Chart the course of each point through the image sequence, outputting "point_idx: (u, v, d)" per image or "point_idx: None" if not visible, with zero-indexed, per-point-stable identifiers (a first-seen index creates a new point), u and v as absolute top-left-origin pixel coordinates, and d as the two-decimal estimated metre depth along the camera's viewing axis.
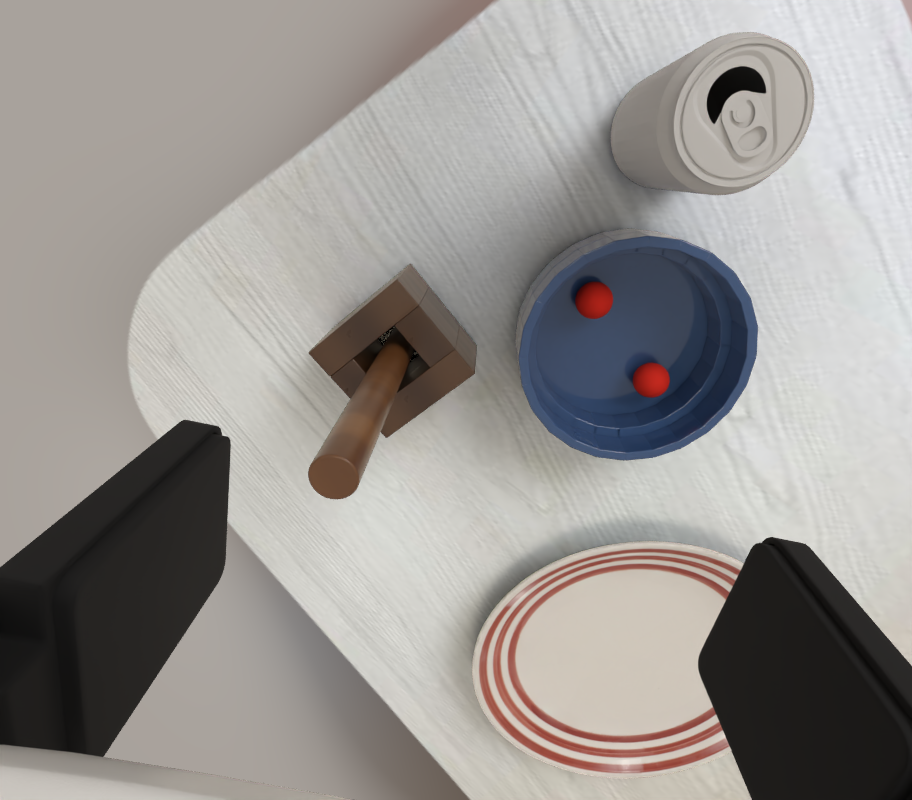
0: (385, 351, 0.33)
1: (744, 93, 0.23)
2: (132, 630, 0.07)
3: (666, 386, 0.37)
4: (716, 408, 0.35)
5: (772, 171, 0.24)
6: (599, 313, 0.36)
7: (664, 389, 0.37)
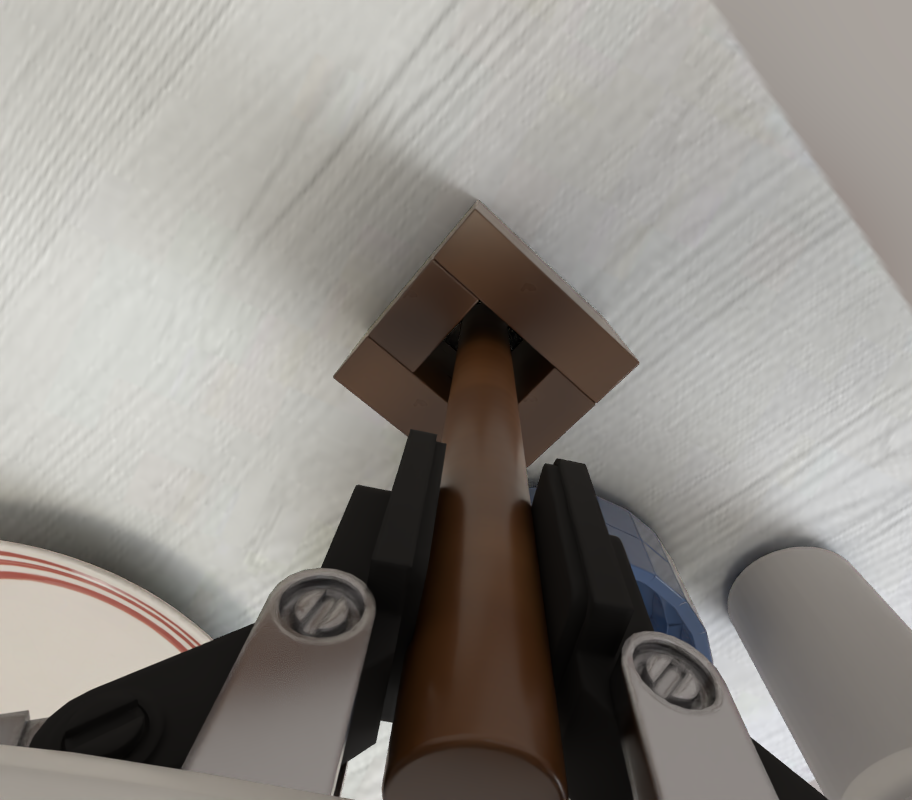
0: (512, 367, 0.18)
1: None
2: None
3: None
4: None
5: None
6: None
7: None
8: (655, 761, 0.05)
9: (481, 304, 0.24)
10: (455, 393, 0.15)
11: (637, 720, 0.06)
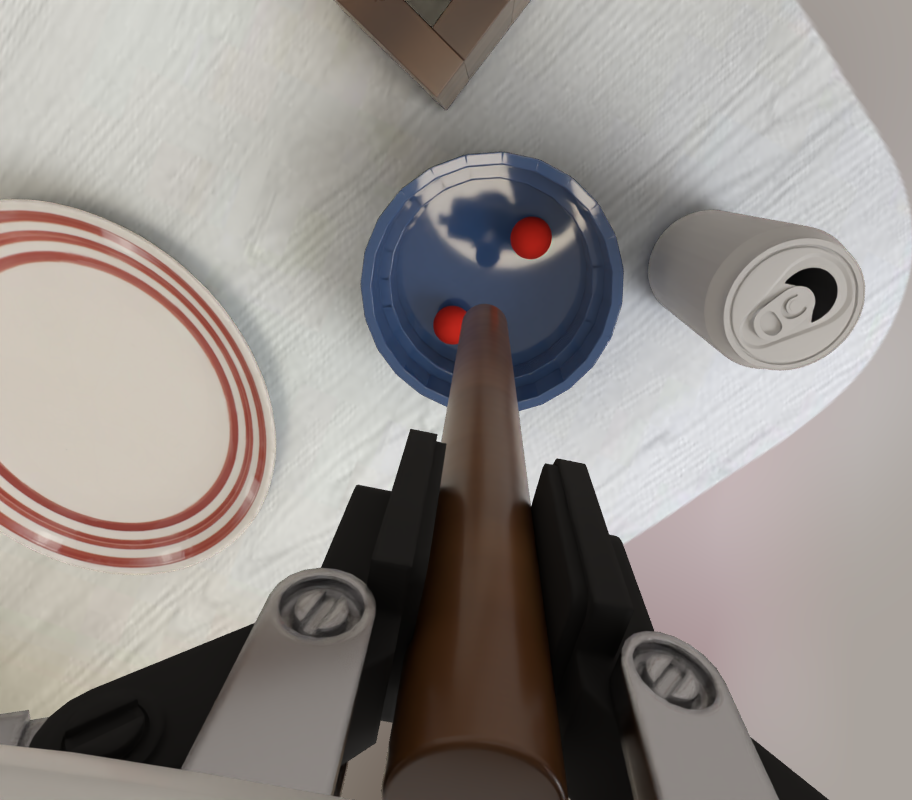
0: (511, 367, 0.18)
1: (812, 302, 0.23)
2: None
3: (452, 341, 0.34)
4: (447, 395, 0.33)
5: (738, 352, 0.24)
6: (521, 246, 0.32)
7: (448, 340, 0.34)
8: (655, 761, 0.05)
9: (481, 304, 0.24)
10: (455, 394, 0.15)
11: (637, 720, 0.06)
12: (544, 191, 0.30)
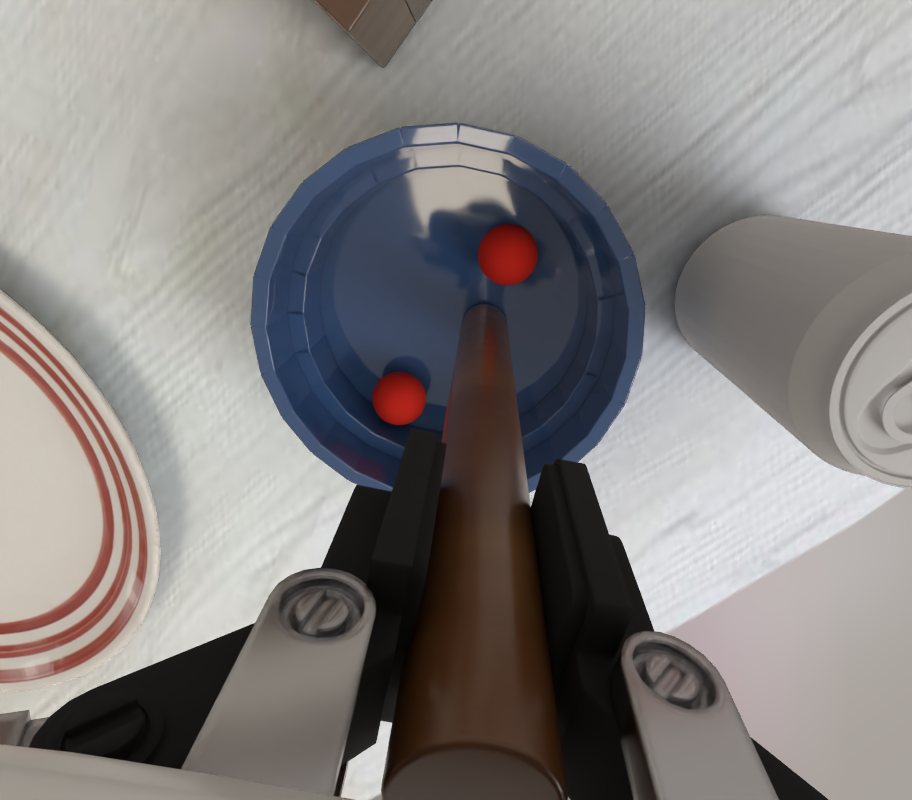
0: (511, 367, 0.18)
1: None
2: None
3: None
4: (387, 480, 0.23)
5: (850, 459, 0.14)
6: (492, 267, 0.22)
7: None
8: (655, 761, 0.05)
9: (481, 305, 0.24)
10: (455, 394, 0.15)
11: (637, 720, 0.06)
12: (526, 186, 0.20)
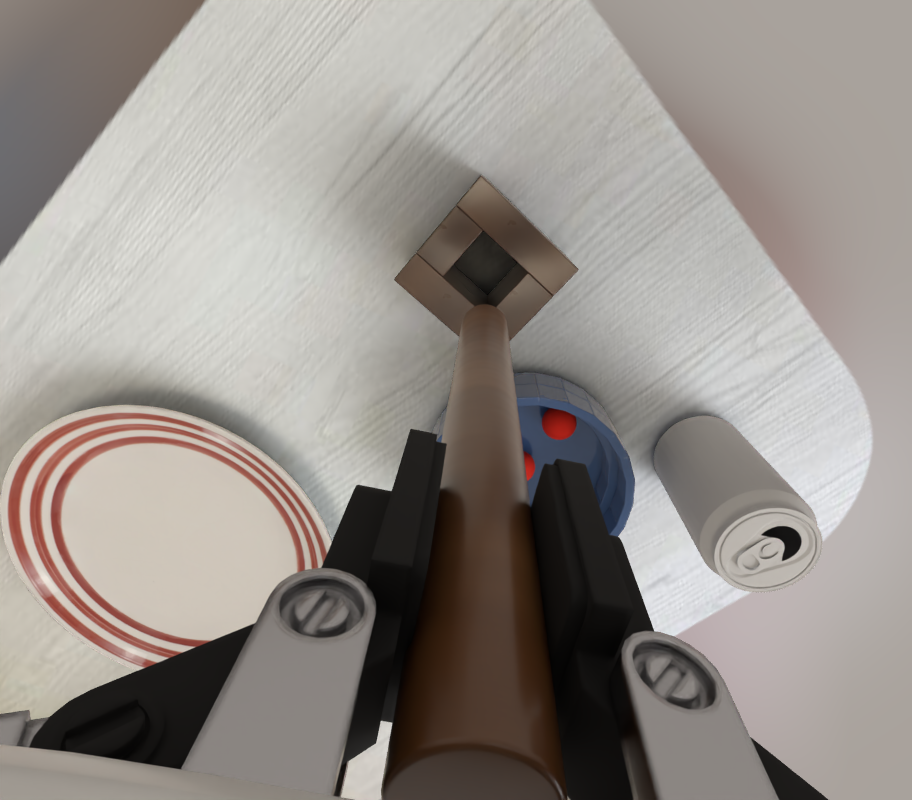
0: (511, 368, 0.18)
1: (782, 548, 0.30)
2: None
3: (530, 455, 0.40)
4: None
5: (725, 579, 0.31)
6: (552, 419, 0.38)
7: None
8: (655, 761, 0.05)
9: (481, 305, 0.24)
10: (455, 394, 0.15)
11: (637, 720, 0.06)
12: None
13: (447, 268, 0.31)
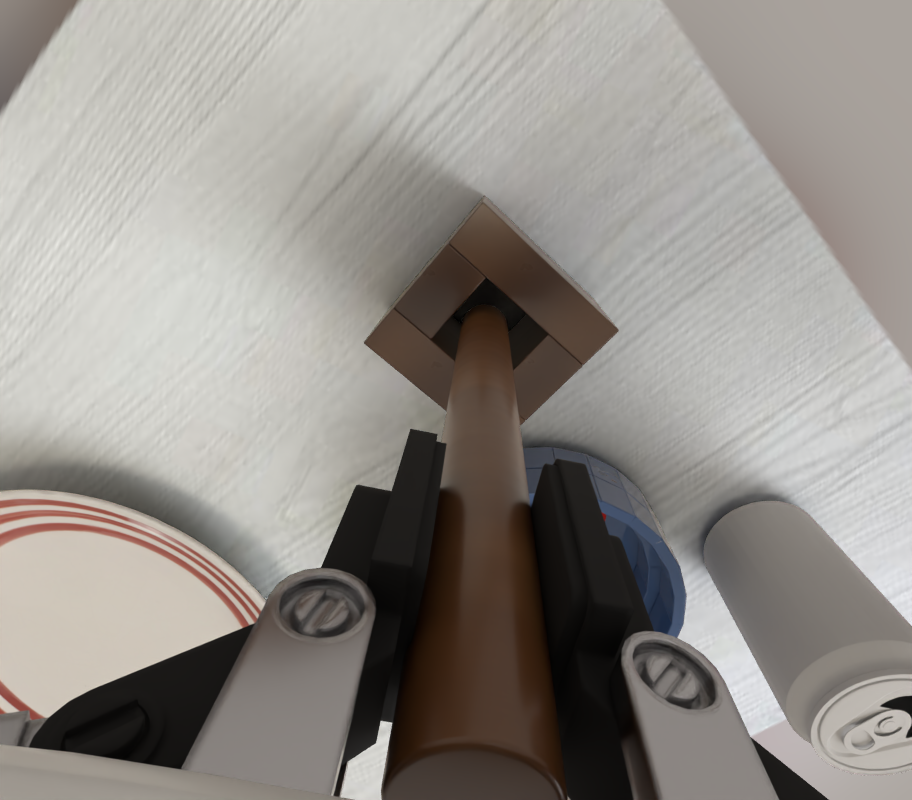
0: (511, 368, 0.18)
1: (908, 722, 0.22)
2: None
3: None
4: None
5: (824, 759, 0.22)
6: None
7: None
8: (655, 761, 0.05)
9: (481, 305, 0.24)
10: (455, 394, 0.15)
11: (637, 720, 0.06)
12: None
13: (436, 328, 0.23)
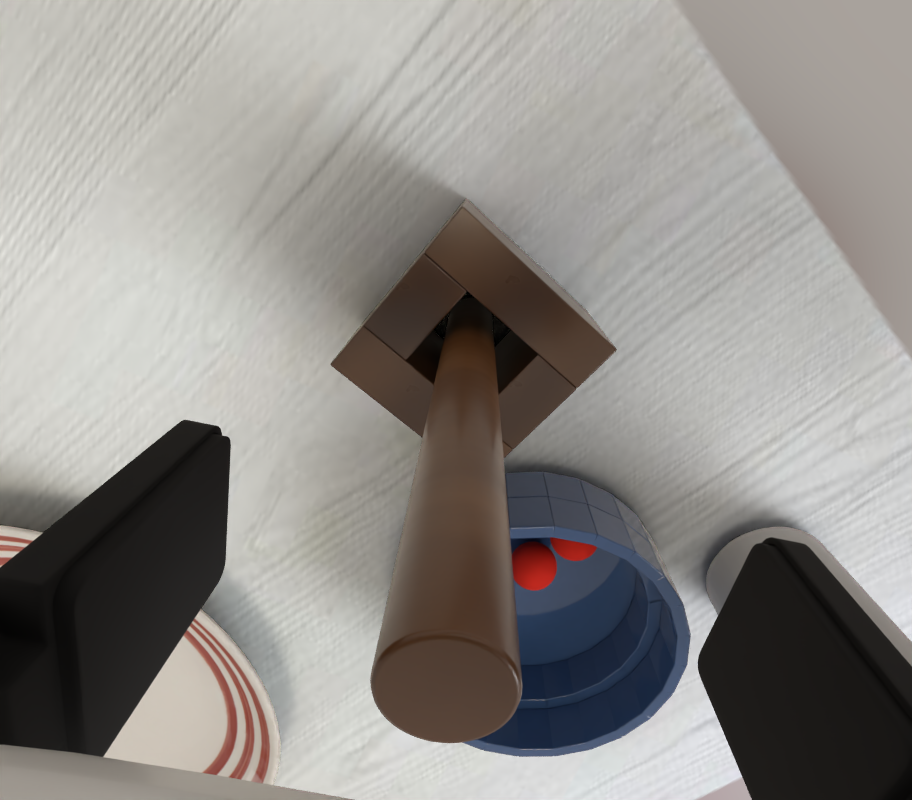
0: (493, 355, 0.19)
1: None
2: (132, 630, 0.07)
3: None
4: None
5: None
6: None
7: None
8: None
9: (467, 298, 0.25)
10: (440, 377, 0.16)
11: None
12: None
13: (412, 348, 0.20)
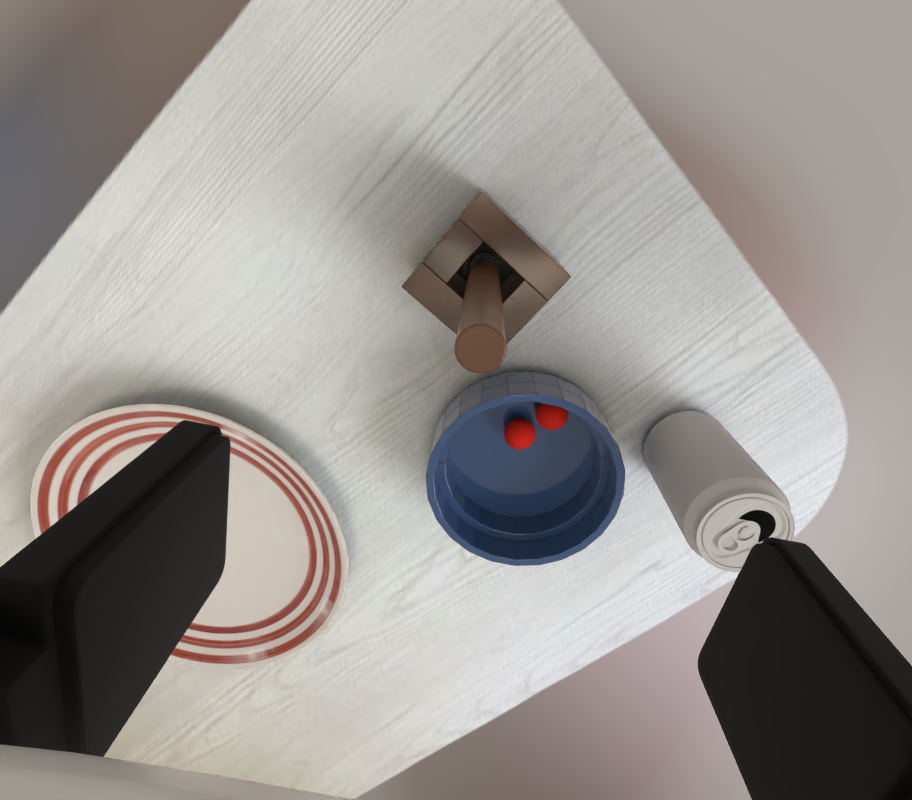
0: (498, 278, 0.33)
1: (758, 530, 0.33)
2: (132, 630, 0.07)
3: None
4: (489, 551, 0.43)
5: (707, 560, 0.34)
6: (543, 406, 0.41)
7: None
8: None
9: (482, 253, 0.39)
10: (469, 283, 0.30)
11: None
12: None
13: (450, 276, 0.34)
